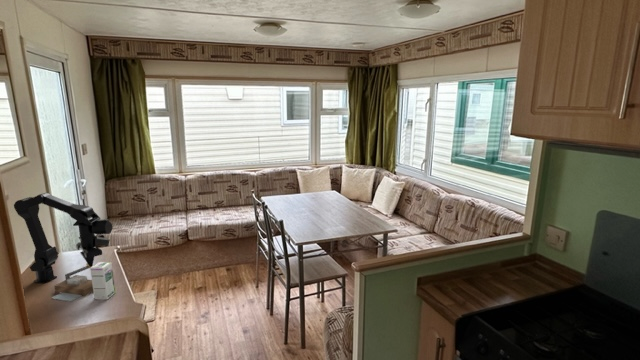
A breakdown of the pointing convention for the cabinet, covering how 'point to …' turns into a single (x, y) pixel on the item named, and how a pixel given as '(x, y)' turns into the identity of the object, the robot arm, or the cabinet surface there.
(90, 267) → the lever
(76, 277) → the grey block
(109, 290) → the syrup box
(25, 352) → the cabinet surface
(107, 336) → the cabinet surface
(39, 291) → the cabinet surface
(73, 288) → the body
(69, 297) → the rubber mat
